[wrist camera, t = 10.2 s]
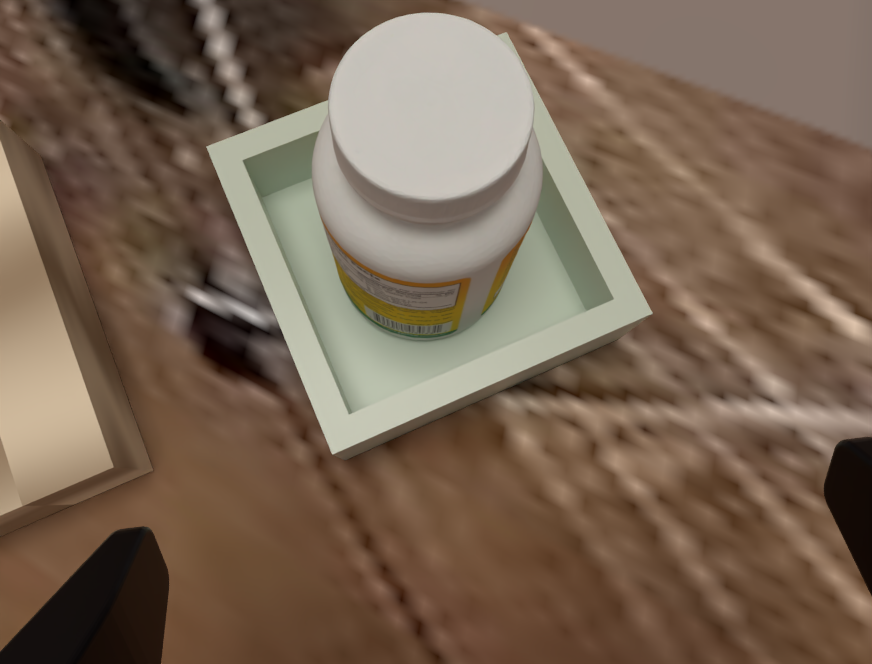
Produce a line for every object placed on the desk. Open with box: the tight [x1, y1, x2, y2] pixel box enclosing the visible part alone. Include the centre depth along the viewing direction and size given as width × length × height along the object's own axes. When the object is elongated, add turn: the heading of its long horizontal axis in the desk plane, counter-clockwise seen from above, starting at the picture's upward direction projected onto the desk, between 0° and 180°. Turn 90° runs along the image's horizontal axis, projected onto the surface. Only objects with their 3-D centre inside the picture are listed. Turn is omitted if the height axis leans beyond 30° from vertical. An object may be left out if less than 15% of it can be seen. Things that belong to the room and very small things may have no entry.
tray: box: [207, 32, 653, 460], centre depth 22 cm, size 10×10×4 cm
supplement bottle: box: [312, 13, 543, 340], centre depth 18 cm, size 5×5×10 cm
